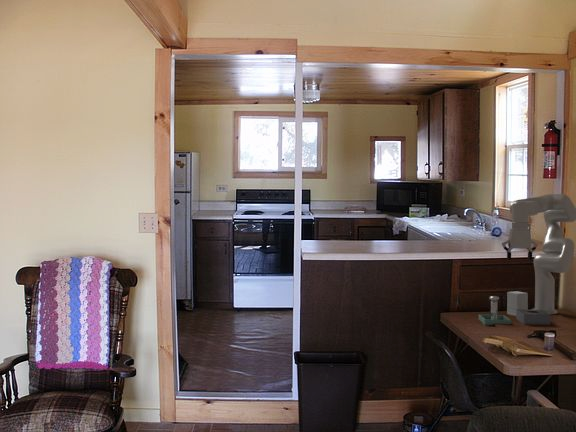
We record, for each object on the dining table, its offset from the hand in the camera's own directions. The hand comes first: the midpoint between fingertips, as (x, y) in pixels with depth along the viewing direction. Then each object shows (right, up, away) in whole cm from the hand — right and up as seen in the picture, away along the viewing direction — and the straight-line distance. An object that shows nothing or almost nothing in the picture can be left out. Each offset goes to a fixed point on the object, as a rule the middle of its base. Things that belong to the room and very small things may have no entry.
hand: (519, 260), depth 277 cm
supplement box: (+3, -30, +9) cm, 32 cm away
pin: (-15, -30, -6) cm, 34 cm away
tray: (-15, -30, -6) cm, 34 cm away
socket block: (+3, -31, -9) cm, 32 cm away
